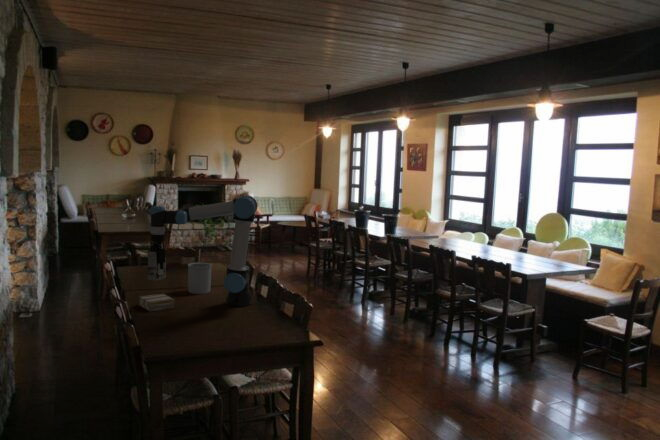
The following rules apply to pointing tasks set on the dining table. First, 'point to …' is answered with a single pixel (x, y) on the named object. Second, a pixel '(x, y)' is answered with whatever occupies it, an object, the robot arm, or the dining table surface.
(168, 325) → the dining table surface
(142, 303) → the dock
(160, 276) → the coffee box
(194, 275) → the utensil holder
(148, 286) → the dining table surface
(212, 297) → the dining table surface
